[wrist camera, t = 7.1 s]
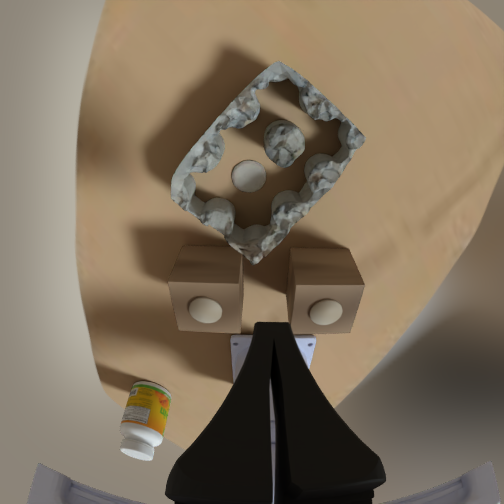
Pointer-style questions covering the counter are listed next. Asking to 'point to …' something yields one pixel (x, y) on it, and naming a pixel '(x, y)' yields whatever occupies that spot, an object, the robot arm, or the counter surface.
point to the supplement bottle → (144, 419)
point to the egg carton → (253, 173)
